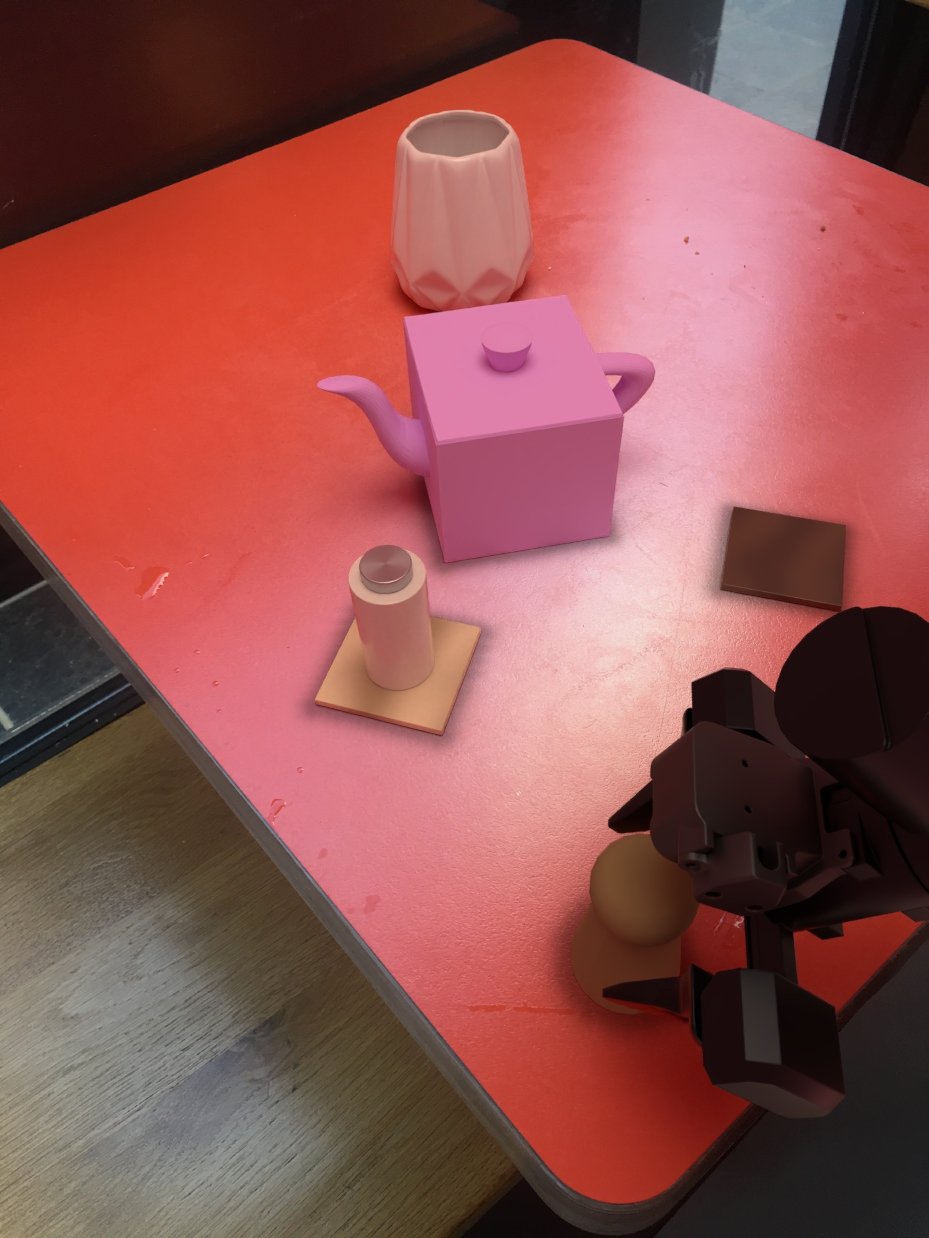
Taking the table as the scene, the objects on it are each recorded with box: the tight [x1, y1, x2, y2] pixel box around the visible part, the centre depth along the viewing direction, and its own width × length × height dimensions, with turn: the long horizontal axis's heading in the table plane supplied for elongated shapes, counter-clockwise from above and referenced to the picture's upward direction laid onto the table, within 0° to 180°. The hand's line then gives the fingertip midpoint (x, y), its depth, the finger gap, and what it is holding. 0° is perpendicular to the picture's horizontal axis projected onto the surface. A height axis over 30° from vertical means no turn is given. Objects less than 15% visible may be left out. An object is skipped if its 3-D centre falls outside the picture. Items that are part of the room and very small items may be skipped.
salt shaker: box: [347, 544, 435, 690], centre depth 60 cm, size 5×5×10 cm
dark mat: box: [720, 506, 847, 612], centre depth 69 cm, size 8×8×1 cm
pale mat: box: [314, 615, 482, 736], centre depth 64 cm, size 9×9×1 cm
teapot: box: [316, 294, 656, 564], centre depth 70 cm, size 15×25×14 cm, turn 101°
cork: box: [569, 832, 701, 1016], centre depth 47 cm, size 6×6×11 cm
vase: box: [390, 109, 535, 312], centre depth 89 cm, size 14×14×15 cm
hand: (610, 906), depth 46 cm, fingers open, 8 cm apart
